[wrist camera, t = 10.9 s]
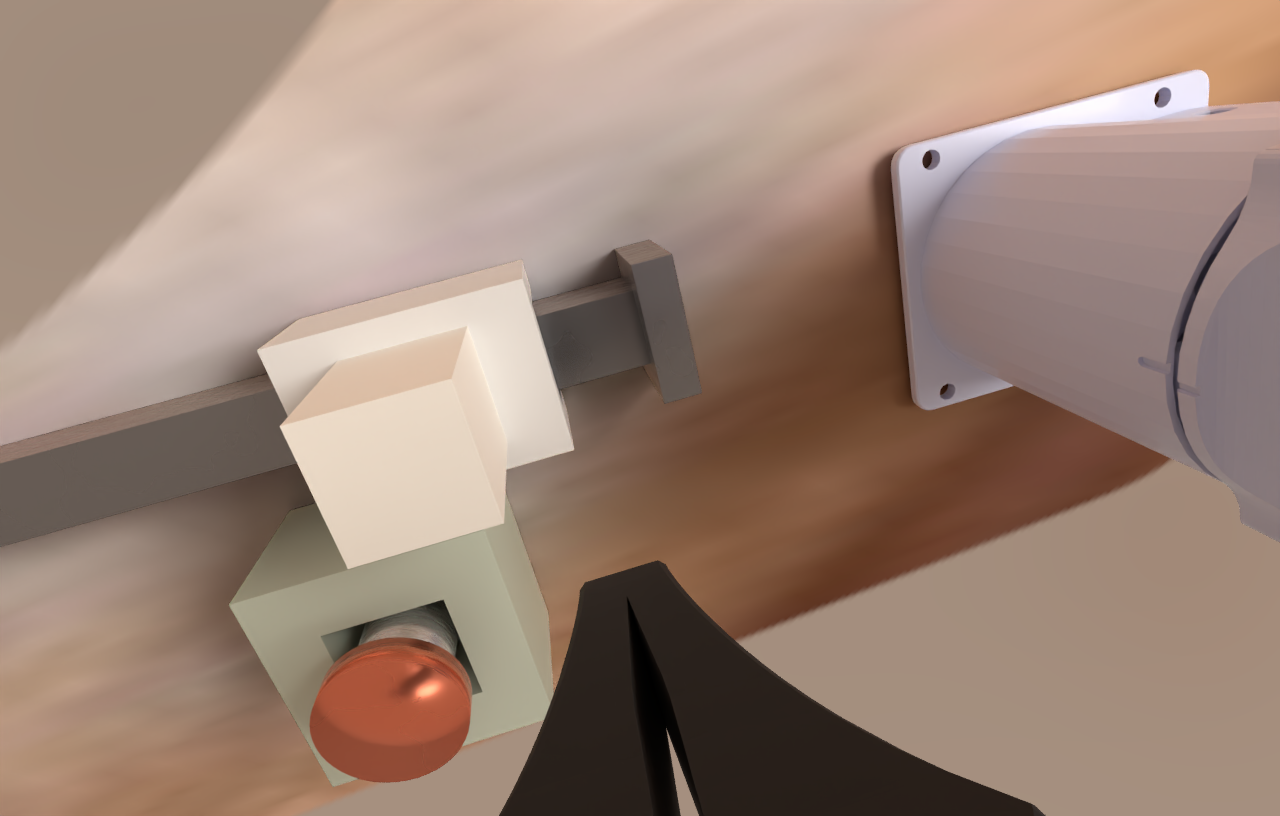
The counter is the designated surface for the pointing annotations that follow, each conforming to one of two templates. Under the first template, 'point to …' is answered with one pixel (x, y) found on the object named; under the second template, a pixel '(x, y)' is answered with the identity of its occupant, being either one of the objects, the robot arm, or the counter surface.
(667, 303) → the rail
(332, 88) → the counter surface
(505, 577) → the box
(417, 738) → the red push knob
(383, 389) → the carriage
